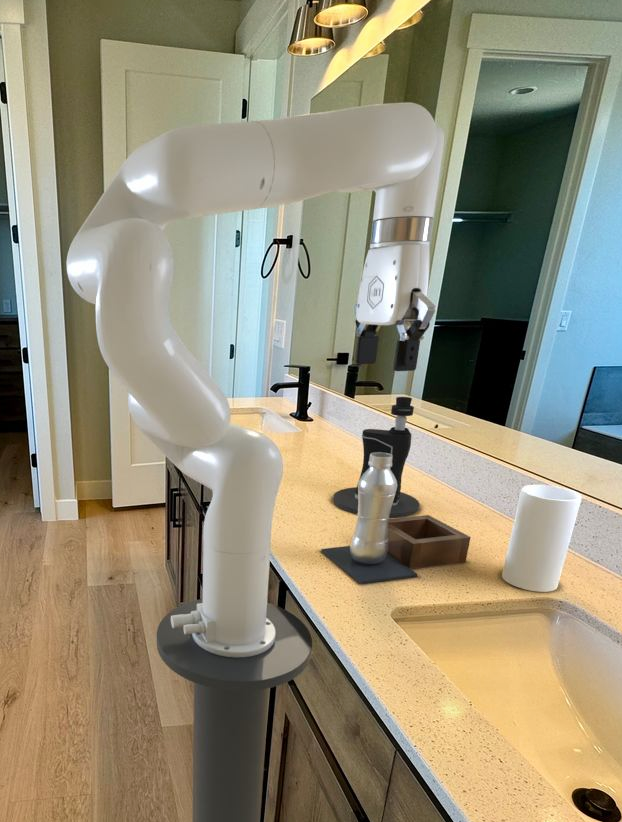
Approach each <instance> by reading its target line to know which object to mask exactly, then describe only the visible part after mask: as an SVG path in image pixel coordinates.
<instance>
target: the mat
mask: <svg viewBox="0 0 622 822" xmlns="http://www.w3.org/2000/svg"><path fill="white" fill-rule="evenodd" d="M321 553H323V555H325V556H326V557H327V558H329V559H330V560H331V561H332V562H333V563H335V564H336V565H337V566H338V567H339V568H341V569H342V570H343V571H344V572H346V573H347V575H349V576H350V577H351V578H353V579H354V580H355V581H356V582H357V583H359V585H364V584H372V583H373V584H374V583H380V582H387V581H396V580H403V579H410V578H417V577H418V573H417V572H415V571H414V570H413V569H410V568H408V567H407V566H405V565H404V564H402V563H401V562H399V561H398V560H396V559H395V558H394V557H392V556H391V555H389V554H388V553H387V555H386V558H385V559H384V560H383V561H382V562H380V563H377V564H364V563H360V562H358V561H356V560H354V559H353V558H352V556H351V554H350V545H345V546H335V547H327V548H322V549H321Z"/></svg>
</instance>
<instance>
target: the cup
mask: <svg viewBox="0 0 622 822" xmlns="http://www.w3.org/2000/svg"><path fill="white" fill-rule="evenodd" d="M582 499H583V498H582V495H581V493H579V492H577V491H575V490H572V489H569V488H565V487H561V486H556V485H549V484H527V485H525V486H523V487H522V488H521V490H520V494H519V498H518V503H517V505H516V512H515V514H514V515H515V516H514V520H513V523H512V529H511V533H510V538H509V541H508V542H509V543H508V546H507V549H506V555H505V559H504V564H503V567H502V572H501V577H502V580H504V582H506V583H508V584H509V585H512V586H514V587H516V588H519V589H522V590H526V591H531V592H536V593H537V592H539V593H546V592H553V591H555V590H557V589H558V587H559V583H560V579H561V576H562V572H563V569H564V565H565V561H566V558H567V554H568V550H569V547H570V543H571V539H572V536H573V532H574V528H575V524H576V520H577V516H578V514H579V511H580V510H579V509H580V506H581V502H582Z"/></svg>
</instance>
